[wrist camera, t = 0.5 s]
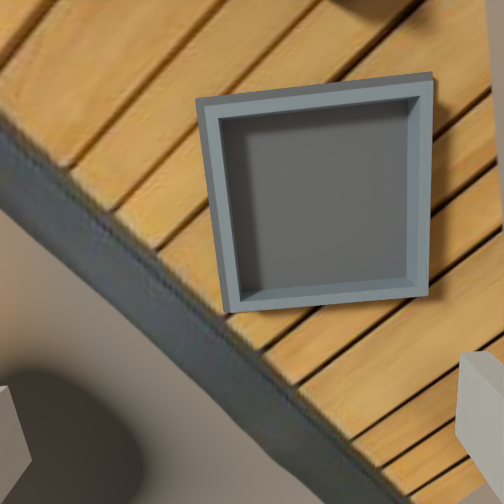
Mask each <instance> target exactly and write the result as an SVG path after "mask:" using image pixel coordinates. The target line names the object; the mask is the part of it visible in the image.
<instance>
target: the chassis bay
mask: <svg viewBox="0 0 504 504" xmlns="http://www.w3.org/2000/svg"><path fill="white" fill-rule="evenodd" d="M433 86H434V80H432V71H431V72H422V73H414V74H405V75H396V76H388V77H379V78H370V79H361V80H353V81H344V82H335V83H327V84H318V85H309V86H300V87H292V88H283V89H274V90H266V91H257V92H248V93H239V94H231V95H222V96H213V97H204V98H196V99H195V102H196V109H197V116H198V124H199V131H200V139H201V146H202V154H203V161H204V169H205V176H206V183H207V191H208V198H209V206H210V213H211V221H212V228H213V235H214V243H215V250H216V258H217V265H218V273H219V280H220V288H221V295H222V302H223V310H224V312H231V313H236V312H248V311H259V310H271V309H282V308H294V307H305V306H317V305H328V304H340V303H351V302H363V301H374V300H386V299H397V298H408V297H420V296H428V285H429V245H430V205H431V166H432V126H433Z"/></svg>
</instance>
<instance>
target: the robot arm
mask: <svg viewBox="0 0 504 504" xmlns="http://www.w3.org/2000/svg"><path fill="white" fill-rule="evenodd" d="M455 435H456V436H457V438H458V439H459V441H460V442H461V444H462V445H463V447H464V448H465V449H466V451H467V452H468V454H469V455H470V457H471V458H472V460H473V461H474V463H475V464H476V466H477V467H478V469H479V470H480V472H481V473H482V474H483V476H484V477H485V479H486V480H487V482H488V483H489V485H490V486H491V488H492V489H493V491H494V492H495V494H496V495H497V497H498V498H499V499H500V501H501V502H502V504H504V364H502V363H501V362H500V361H499V360H498V359H497V358H496V357H495V356H494V355H492V354H491V353H490V352H489V351H480V352H466V353H460V366H459V380H458V394H457V409H456V423H455ZM31 461H32V460H31V457H30V453H29V450H28V448H27V444H26V441H25V438H24V435H23V432H22V429H21V426H20V423H19V420H18V416H17V413H16V410H15V407H14V404H13V401H12V398H11V395H10V392H9V389H8V386H0V504H1V503H2V501H3V500H4V498H5V497H6V496H7V494H8V493H9V491H10V490H11V488H12V487H13V486H14V484H15V483H16V482H17V480H18V479H19V477H20V476H21V475H22V473H23V472H24V470H25V469H26V468H27V466H28V465H29V464H30V462H31Z"/></svg>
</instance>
